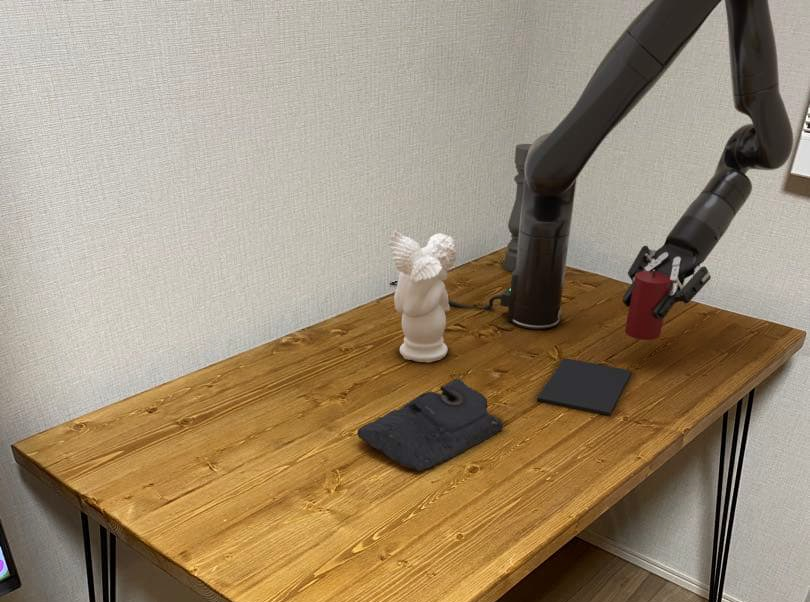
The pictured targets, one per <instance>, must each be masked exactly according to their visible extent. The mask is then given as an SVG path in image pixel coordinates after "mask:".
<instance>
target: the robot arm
mask: <svg viewBox="0 0 810 602" xmlns="http://www.w3.org/2000/svg"><path fill="white" fill-rule="evenodd" d="M722 1H723V0H652V1H650V2H649V3H648V4H647V5H646V6H645V7H644V8H643V9H642V10H641V11H640V12H639V13H638V14H637V15H636V16H635V18H634V19H633V20H632V21H631V22H630V23H629V24H628V26H627V27H626V28H625V29H624V30H623V32H622V33H620V35H619V37H618V38H617V39H616V40H615V42H614V43H613V44H612V46H611V47H610V48H609V50H608V51H607V52H606V54H605V55H604V57H603V58H602V60H601V61H600V63H599V64H598V66H597V67H596V68H595V70H594V72H593V74H592V76H591V77H590V78H589V80H588V82H587V84H586V85H585V87H584V90H583V91H582V93H581V94H580V96H579V98H578V99H577V101H576V103H575V104H574V106H573V107H572V108H571V109H570V111H568V113H567V114H566V116H565V117H564V118H563V119H562V120H561V121H560V122H559V123H558V124H557V126H555V128H554V129H553V130H552V131H551V132H547V133H543V134H542V135H540V136H538V137H537V138H536V139H535V140H534V141H533V142H532V143H531V144H532V145H531V147H530V148H529V151H528V153H527V158H526V162H525V179H524V189H523V199H522V207H521V215H520V226H519V237H518V248H517V259H516V269H515V271H514V272H512V273H511V278H510V280H511V281H510V286H507V287H506V288H505V290H504V291H503V292H502V293H501V294H499V295H497V294H496V295H494V296H492V297H490V298H489V300H488V305H485V306H480V307H474V306H468V305H464V304H461V303H459V302H458V303H457V302H455V301H453V300H449V299H448V303H449V306H450V305H451V306H453V307H455V308H456V307H457V308H459V309H460V308H461V309H479V310H489V309H492V308H493V306H494V301H495V300H500V303H499V306H500V307H506V308H508V309H507V310H508V311H507V322H508V323H513V325H516V326H518V327H521V328H525V329H528V330H546V329H547V330H548V329H552V328H555V327H557V325H559V323H560V316H561V315H562V310H563V306H561V305H562V298H563V291H564V283H565V275H566V267H567V259H568V258H567V257H568V250H569V243H570V234H571V228H572V227H571V226H572V221H573V213H574V202H575V193H576V186H577V179H578V177H579V176H580V174H581V172H582V171H583V170H584V168H585V167H586V166H587V163H588V162H589V161H590V159H591V158H592V157H593V155H594V154H595V152H596V151H597V150H598V148H599V147H600V145H601V144H602V143H603V141H604V140H605V139H606V138H607V137H608V135H610V133H611V132H612V131H614V129H615V128H616V127H617V126H618V125H620V123H621V122H622V121H623V120H624V119H625V118H626V117H627V116H628V115H629V114H630V113H631V112H632V111H633V109H635V107H637V106H638V104H639V103H640V102H641V101H642V100H643V99H644V98H645V96H647V94H648V93H649V92H650V91H651V90H652V89H653V88H654V87H655V85H656V84H657V83H658V82H659V81H660V79H661V78H662V77H663V76H664V75H665V73H666V72H667V71H668V70H669V69H670V68H671V66H673V64H674V62H675V61H676V60H677V59H678V57H679V56H680V55H681V54H682V52H683V51H684V50H685V48H686V47H687V46H688V44H689V43H690V42H691V40H693V38H694V37H695V35H696V34H697V33H698V31H699V30H700V29H701V28H702V26H703V24H704V23H705V22H706V20H707V19H708V18H709V16H710V15H711V14H712V12H713V11H714V10H715V9H716V8H717V6H718V5H719V4H720V3H721V2H722ZM724 5H725V14H726V22H727V23H726V24H727V36H728V37H727V38H728V52H729V53H728V54H729V66H730V67H729V69H730V81H731V91H732V92H731V93H732V100H733V101H732V103H733V106H734V109H735V110H736V111H737V112H739V113H741V114H743V115H746V116H747V117H749V119H750V121H751V123H747V124H743V125H742V126H740V127H739V128H737V129H736V130H735V131H734V132H733V133H732V134H731V135H730V136H729V138H728V140H727V141H726V144H725V146H724V149H723V151H722V153H721V155H720V157H719V160H718V162H717V165H716V168H715V171H714V173H713V175H712V177H711V178H710V179H709V180H708V181H707V183H706V185H705V186H704V187H703V189H702V190H701V192H700V193H699V194H698V195H697V197H695V198H694V200H693V201H692V202H691V203H690V205H689V206H688V207H687V208H686V210H685V211H684V213H683V214H682V215H681V217H680V218H679V219H678V221H677V222H676V224H675V225H674V226H673V228H672V229H671V230H670V232H669V233H668V235H667V236H666V237H665V241H664V243H663V245H662V246H661V247H659V248H658V249H657V250H655V249H650V247H649V246H648V245H643V246H641V249H640V250H639V252H638V253H637V256H636V257H635V259H634V260H633V263H632V264H631V266H630V267H629V269H628V270H627V275H628V277H629V278H630V280H631V281H632V282H631V284H630V285H629V287H628V288H627V290H626V291H625V292H624V294H623V295H622V303H623V304H624V305H625V307H628V308H629V306H630V301H631V295H632V290H633V284H634V279H635V274H636V273H638V272H641V271H656V272H659V273H661V274H664V275H667V276H669V277H670V280H671V284H670V287H669V291H668V295H665V296H664V297H663V298H662V300H661V301H660V303H659V304H658V305H657V307H656V308H655V309H654V311H653V315H654V317H655V318H656V319H658V320H660V319H661V318H664V319H665V317H666V316H667V315H668V313H669V312H670V311H671V310H672V308H673V307H674V305H675V304H677V303H679V302H681V303H682V302H683V303H684V304H689V303H690V302H691V301H692V300H693V299H694V297H695V296H697V294H698V293H699V292H700V291H701V290H702V288H704V287H705V286H706V284H707V283H709V281H710V280H711V278H712V277H711V276H712V275H711V274H710V271H709V270H708V268H707V267H706V266H701V264H703V263H704V262H705V261H706V260H707V258H708V257H709V255H710V254H711V253H712V251H713V250H714V248H715V247H716V246H717V244H718V243H719V241H720V240H721V239H722V237H723V236H724V235H725V233H727V230H728V229H729V227H730V226H731V223H732V221H734V219H735V217H736V216H737V215H738V213H739V211H740V210H741V209H742V207H743V206H744V205H745V203H746V202H747V201H748V199H749V197H750V196H751V194H752V191H753V183H752V181H751V179H750V177H748V175H746V174H747V173H748V172H749V170H760V171H774V170H778V169H780V168H781V167H783V166H785V164H787V162H788V160H789V159H790V156H791V155H792V151H793V147H794V132H793V127H792V123H791V120H790V118H789V117H790V116H789V115H788V111H787V109H786V105H785V101H784V100H783V98H782V95H781V91H780V76H779V61H778V60H779V59H778V51H777V43H776V37H775V31H774V27H773V21H772V15H771V11H770V6H769V5H770V4H769V0H724ZM691 276H692V277H691ZM690 277H691V278H690ZM688 278H690V279H689V280H688V281H687V282H686V279H688ZM391 282H392V281H391ZM391 282H389V285H390V286H394V285H395V284H398V281H395V282H392V283H391ZM685 282H686V284H685Z"/></svg>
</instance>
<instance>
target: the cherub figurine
mask: <svg viewBox="0 0 810 602" xmlns="http://www.w3.org/2000/svg"><path fill="white" fill-rule="evenodd" d="M389 237H390V240H389V241H388V245H389V246H390V248H389V249H390V251H391V254H392V256H394V257H393V262H394V265H395V266H396V269H397V271H399V272H400V273H399V276H398V278H399V279H398V278H397V279H398V282H397V283H396V284H397V285H396V290H395V293H394V296H393V298H394V299H393V300H394V308H395V310H396V311H397V312H398V313H399V314H402V315H401V329H402V332H403V335H404V336H403V343H402V344H401V345H400V346H399V354H400V355H401V356H402V357H403V359H405V360H409V361H414V362H419V363H432V362H436V361H440V360H442V359H443V358H444V357H446V355H447V353H448V346H447V344H446V343H445V340H444V336H443V335H444V334H445V330H446V326H447V315H446V312H447V313H448V312H450V311H451V308H450V304H449V303H448V300H449V295H448V291H447V289H446V284H445V282H444V281H446V280H447V279H448V271H450V270H451V268H452V267H453V266H454V265H455V262H456V259H457V257H458V252H457V249H456V243H455V240H454V239H453V238H452V236H450V235H447V234H444V233H441V232H439V233H435V234H434V235H432V236H430V237H429V240H428V242H427V243H426V246H424V247H421V246H420V244H419V243H418V242H417V241H415V240H414V239H413V238H411V237H408V236H405V235H403V234H401V233H400V232H398V231H397V230H394V232H393V234H392V235H390V236H389Z"/></svg>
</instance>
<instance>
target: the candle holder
mask: <svg viewBox="0 0 810 602" xmlns="http://www.w3.org/2000/svg"><path fill="white" fill-rule="evenodd" d="M532 144H533V143H520V144H516V146H515V153H514V164H515V169H516V172H517V174H516V175H515V176H514V177H513V178H514V179H513V181H514V182H515V184H516V192H515V200H514V203H513V206H512V210H511V213H510V216H509V219H508V223H507V228H508V231H509V233H510V234H511V235H510V237H511V239H510V241H509V242H507V245H506V248H507V249H506V250H505V254H504V255H505V256H504V269H505V270H507V271H509V272H512V273H513V272H514V271H515V269H516V259H517V248H518V237H519V226H520V215H521V207H522V199H523V189H524V179H525V162H526V158H527V153H528V151H529V148H530V147H531V145H532Z"/></svg>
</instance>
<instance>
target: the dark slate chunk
mask: <svg viewBox="0 0 810 602" xmlns="http://www.w3.org/2000/svg"><path fill="white" fill-rule="evenodd" d="M439 390H440V391H442V392H441V393H439V392H435V391H431V390H429V391H428V392H427V391H426V392H425V393H424V392H423V393H422V394H420V395H418V396H416V397H415V398H413V399H412V400H410V401H409V402H408V403H406V404H404V405H403V406H402V407H401V408H399V409H393V410H391V411H389V412H387V413H385V414H384V415H382V416H379V417H378V418H377V419H376V420H373V421H372V422H368V423H366V424H363V425H362V426H361V427H359V428H358V429H357V437H358V438H359V439H361V440H362V441H364V442H365V443H367V444H368V445H369V446H371V447H373V449H376V450H378V451H379V452H381V453H383V454H384V455H385V456H386V457H387V458H389V459H390V460H391V461H394V462H395V463H396V464H397V463H398V464H399V465H401V466H402V467H405V468H408V469H410V470H414V471H417V472H422V471H423V470H427V469H429V468H432V467H436V466H437V465H441V464H442V463H444V462H447V461H448V460H451V459H453V458H455V457H456V456H459V455H461V454H463V453H465V452H466V451H468V450H470V449H471V448H473V447H475V446H476V445H480V444H481V443H482V442H483V441H486V440H487V439H490V438H491V437H493V436H495V434H497V433H499V432H500V431H502V429H503V427H504V425H503V424H502V419H500V418H496V417H495V416H494V415H491V414H489V413H488V410H487V409H488V399H487V397H486V396H484V394H482V392H479V391H477V390H475V389H473V388H472V387H470V386H468V385H467V384H466V383H465V382H464V381H463V380H462V379H459V378H455V379H453V380H452V381H450V382H448V383H446V384H444V385H441V386H440V388H439Z"/></svg>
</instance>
